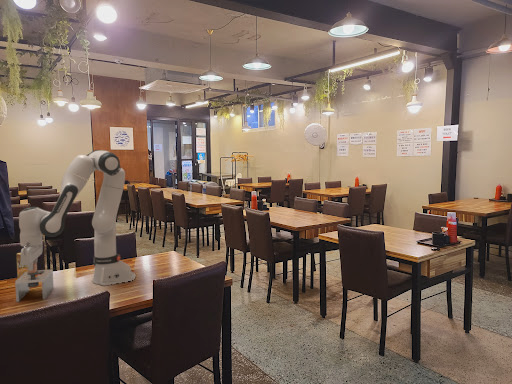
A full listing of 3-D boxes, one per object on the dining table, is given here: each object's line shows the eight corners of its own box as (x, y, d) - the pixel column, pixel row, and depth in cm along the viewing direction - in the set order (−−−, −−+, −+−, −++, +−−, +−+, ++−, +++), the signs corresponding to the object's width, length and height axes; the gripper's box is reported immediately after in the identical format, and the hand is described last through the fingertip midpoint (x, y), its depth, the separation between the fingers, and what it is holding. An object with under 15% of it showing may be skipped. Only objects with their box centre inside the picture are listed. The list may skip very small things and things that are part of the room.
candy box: (17, 281, 194) (15, 253, 192) (25, 278, 197) (23, 251, 196) (27, 283, 190) (26, 255, 188) (35, 281, 194) (33, 253, 192)
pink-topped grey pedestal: (40, 283, 175) (38, 262, 174) (37, 287, 171) (36, 264, 169) (29, 284, 174) (28, 262, 172) (26, 287, 169) (25, 265, 168)
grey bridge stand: (53, 288, 184) (52, 269, 183) (45, 299, 169) (44, 279, 168) (27, 290, 180) (26, 271, 179) (16, 302, 166) (15, 281, 165)
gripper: (31, 245, 161) (33, 274, 162) (44, 235, 180) (46, 262, 182) (15, 246, 159) (17, 276, 160) (30, 236, 179) (32, 263, 180)
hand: (32, 268), depth 171 cm, fingers closed on pink-topped grey pedestal, 3 cm apart
